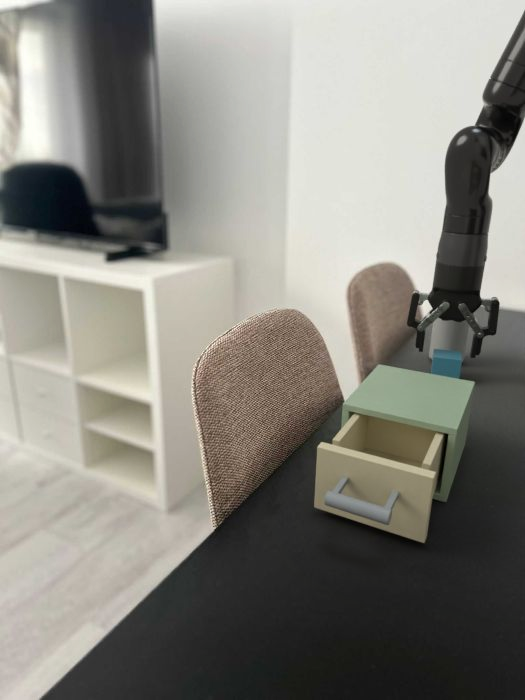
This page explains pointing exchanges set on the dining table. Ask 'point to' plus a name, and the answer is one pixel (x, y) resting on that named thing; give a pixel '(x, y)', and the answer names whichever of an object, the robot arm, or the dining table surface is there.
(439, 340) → the beverage can
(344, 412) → the cabinet
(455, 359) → the small sky-blue cube
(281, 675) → the dining table surface
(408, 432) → the drawer
